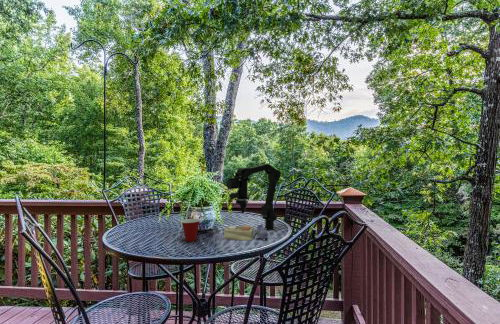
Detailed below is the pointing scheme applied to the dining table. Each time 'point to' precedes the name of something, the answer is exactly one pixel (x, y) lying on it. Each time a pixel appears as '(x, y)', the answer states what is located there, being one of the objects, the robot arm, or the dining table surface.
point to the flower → (261, 232)
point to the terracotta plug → (246, 227)
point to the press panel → (239, 233)
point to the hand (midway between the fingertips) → (242, 213)
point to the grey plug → (232, 228)
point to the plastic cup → (190, 229)
